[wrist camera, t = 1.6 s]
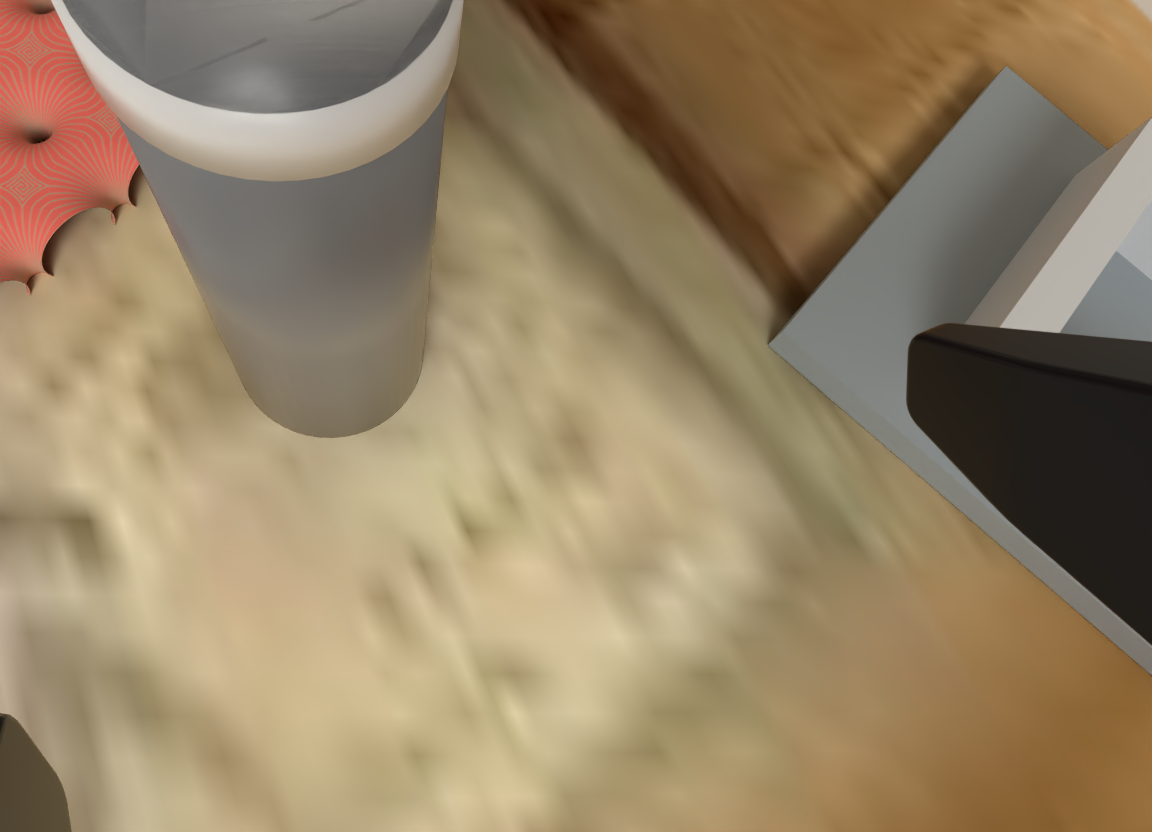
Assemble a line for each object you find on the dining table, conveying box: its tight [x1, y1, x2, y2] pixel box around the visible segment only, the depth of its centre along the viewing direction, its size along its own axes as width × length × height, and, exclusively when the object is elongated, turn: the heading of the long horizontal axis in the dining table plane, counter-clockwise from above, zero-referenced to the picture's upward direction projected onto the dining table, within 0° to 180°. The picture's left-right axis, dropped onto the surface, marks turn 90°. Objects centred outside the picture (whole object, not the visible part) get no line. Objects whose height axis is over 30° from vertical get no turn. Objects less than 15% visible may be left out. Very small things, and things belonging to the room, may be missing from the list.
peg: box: [51, 0, 464, 438], centre depth 17 cm, size 5×5×13 cm
